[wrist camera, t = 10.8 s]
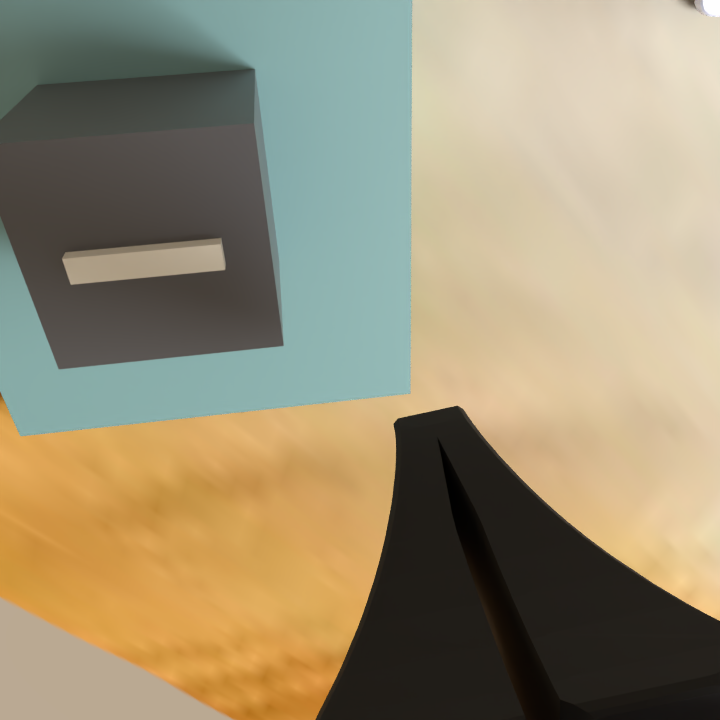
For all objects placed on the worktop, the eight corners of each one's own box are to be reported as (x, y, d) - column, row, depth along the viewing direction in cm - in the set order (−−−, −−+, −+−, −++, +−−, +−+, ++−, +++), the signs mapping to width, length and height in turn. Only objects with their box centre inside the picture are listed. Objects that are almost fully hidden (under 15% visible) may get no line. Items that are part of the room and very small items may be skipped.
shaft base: (400, -211, 15) (445, -238, 11) (402, 368, 24) (428, 454, 21) (-219, -185, 14) (-385, -206, 10) (32, 407, 23) (-9, 504, 20)
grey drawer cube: (254, 68, 17) (254, 127, 13) (279, 258, 20) (284, 353, 16) (37, 84, 16) (-33, 150, 12) (96, 276, 19) (55, 377, 15)
